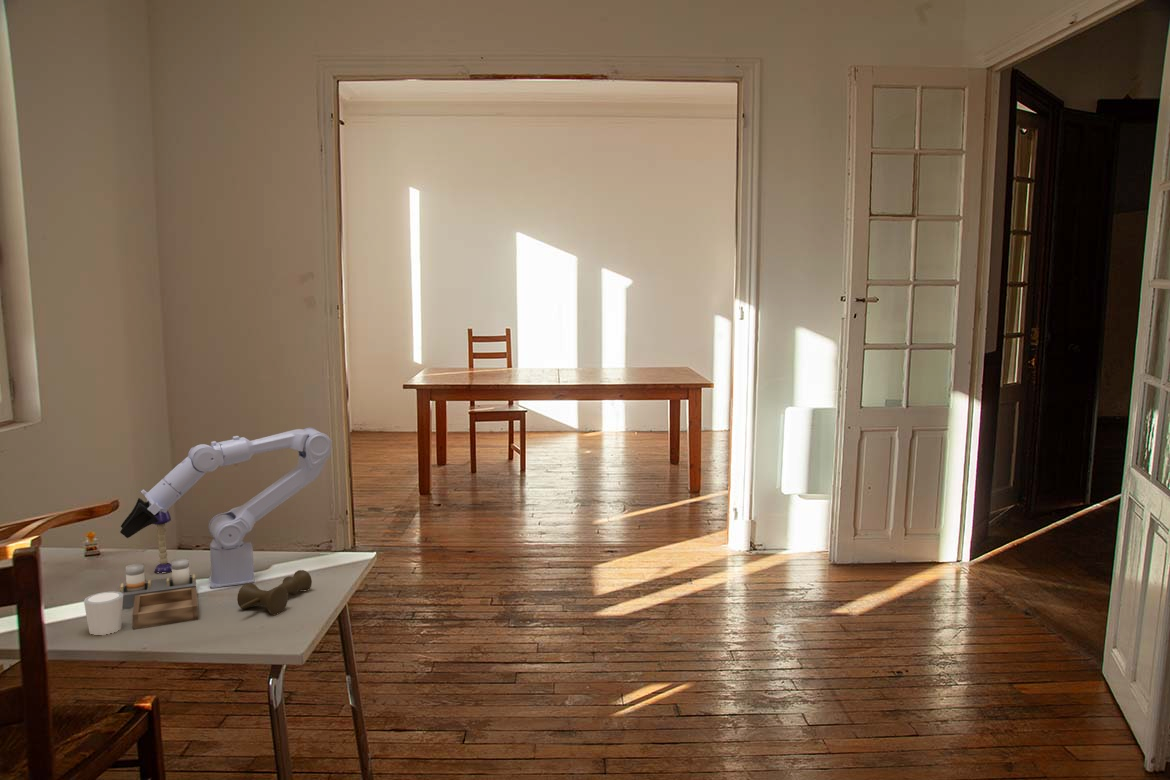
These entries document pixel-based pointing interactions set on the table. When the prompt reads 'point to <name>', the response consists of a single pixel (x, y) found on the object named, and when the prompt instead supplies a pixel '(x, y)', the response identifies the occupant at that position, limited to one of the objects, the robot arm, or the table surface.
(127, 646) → the table surface
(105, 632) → the white tapered cup
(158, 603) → the tray
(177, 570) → the plain fuse
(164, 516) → the toy lamp
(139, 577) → the marked fuse
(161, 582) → the fuse holder
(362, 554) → the table surface
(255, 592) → the kendama
